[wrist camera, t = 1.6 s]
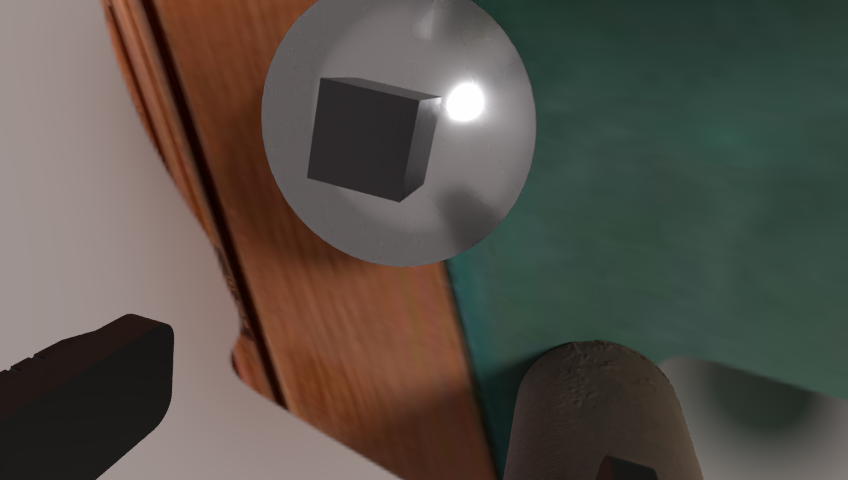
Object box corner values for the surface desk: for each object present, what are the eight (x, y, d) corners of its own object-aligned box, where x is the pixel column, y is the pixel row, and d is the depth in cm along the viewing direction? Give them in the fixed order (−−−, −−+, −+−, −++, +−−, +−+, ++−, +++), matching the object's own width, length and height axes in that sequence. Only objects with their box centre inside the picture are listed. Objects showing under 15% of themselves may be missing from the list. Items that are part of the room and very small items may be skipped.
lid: (288, -45, 25) (225, -73, 21) (572, 10, 23) (575, -7, 18) (258, 223, 29) (201, 250, 25) (497, 290, 27) (483, 334, 23)
